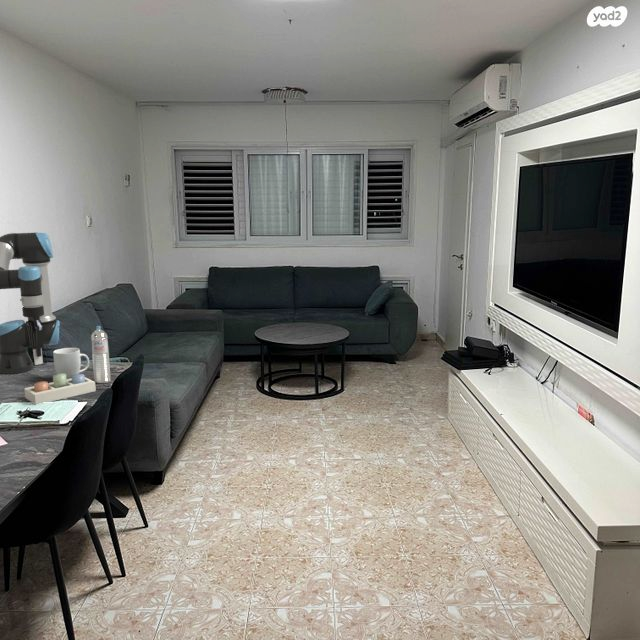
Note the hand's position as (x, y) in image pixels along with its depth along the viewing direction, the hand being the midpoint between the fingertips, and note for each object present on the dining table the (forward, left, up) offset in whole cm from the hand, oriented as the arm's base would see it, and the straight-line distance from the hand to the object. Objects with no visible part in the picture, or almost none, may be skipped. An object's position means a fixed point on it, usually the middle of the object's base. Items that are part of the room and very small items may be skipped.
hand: (38, 363), depth 230 cm
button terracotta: (0, 0, -13) cm, 13 cm away
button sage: (0, +7, -11) cm, 13 cm away
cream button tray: (0, +7, -15) cm, 16 cm away
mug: (-20, +20, -15) cm, 32 cm away
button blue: (0, +15, -13) cm, 20 cm away
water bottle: (-5, +27, -15) cm, 31 cm away
